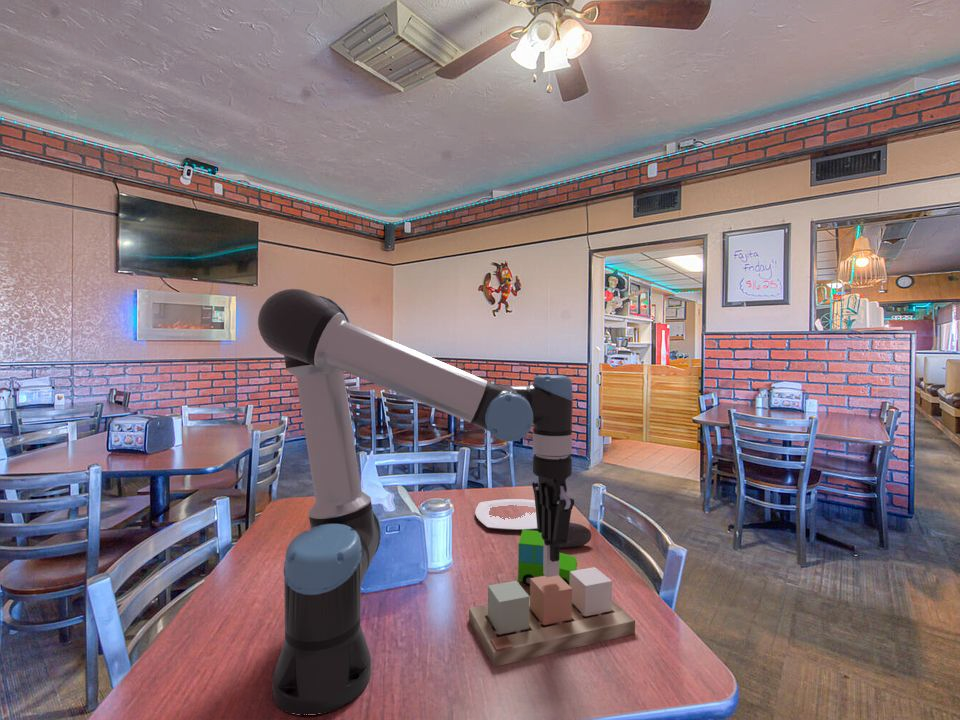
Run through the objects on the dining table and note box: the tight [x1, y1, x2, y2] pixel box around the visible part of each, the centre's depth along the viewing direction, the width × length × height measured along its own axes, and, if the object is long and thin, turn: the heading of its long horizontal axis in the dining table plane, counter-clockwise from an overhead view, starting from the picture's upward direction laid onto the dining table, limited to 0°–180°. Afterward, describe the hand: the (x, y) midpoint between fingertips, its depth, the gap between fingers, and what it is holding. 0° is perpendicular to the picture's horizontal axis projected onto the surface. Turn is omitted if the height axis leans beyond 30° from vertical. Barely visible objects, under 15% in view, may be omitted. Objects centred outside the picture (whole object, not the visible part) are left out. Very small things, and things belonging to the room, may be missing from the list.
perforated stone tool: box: [560, 522, 592, 549], centre depth 124 cm, size 15×5×7 cm, turn 94°
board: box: [468, 597, 636, 668], centre depth 88 cm, size 29×14×3 cm, turn 109°
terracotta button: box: [529, 575, 572, 626], centre depth 88 cm, size 6×6×6 cm
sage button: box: [487, 580, 530, 636], centre depth 85 cm, size 6×6×6 cm
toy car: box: [517, 529, 578, 588], centre depth 106 cm, size 10×13×10 cm
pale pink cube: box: [570, 566, 613, 617], centre depth 91 cm, size 6×6×6 cm
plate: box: [474, 498, 538, 531], centre depth 145 cm, size 27×27×2 cm
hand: (551, 574), depth 88 cm, fingers closed
